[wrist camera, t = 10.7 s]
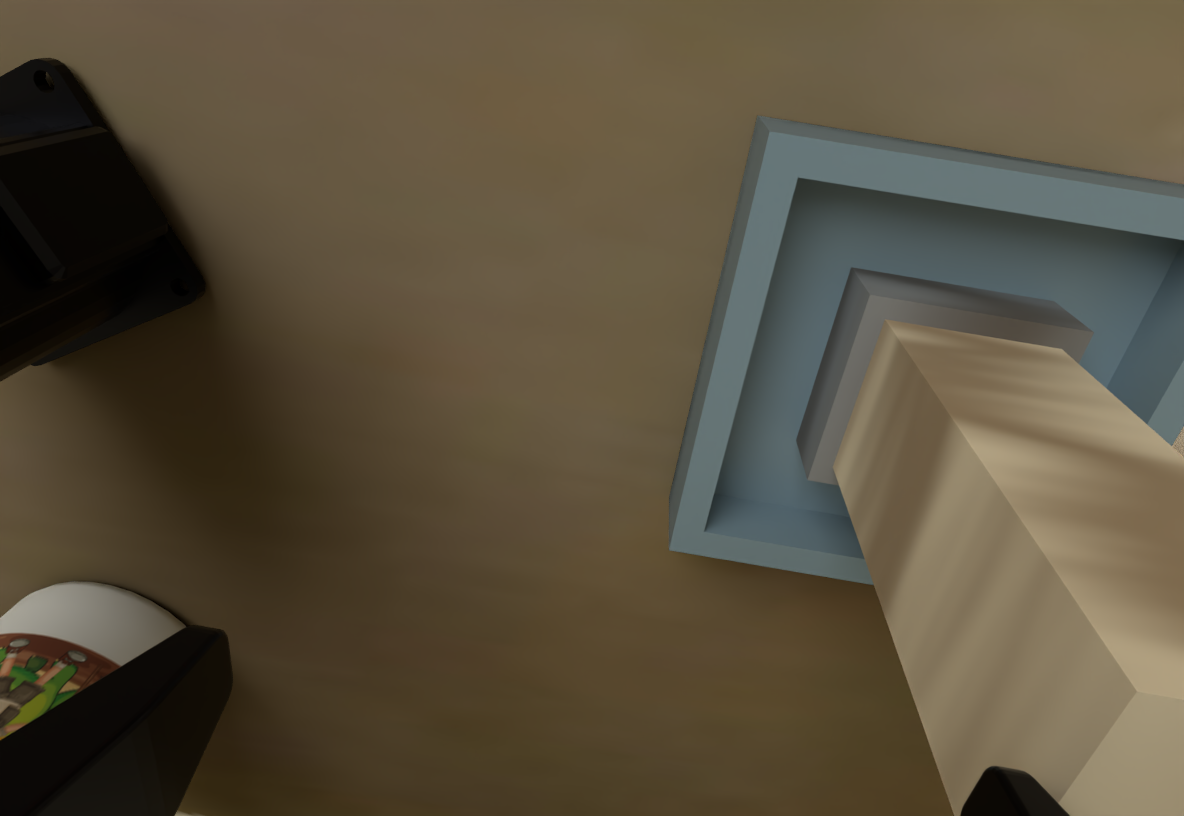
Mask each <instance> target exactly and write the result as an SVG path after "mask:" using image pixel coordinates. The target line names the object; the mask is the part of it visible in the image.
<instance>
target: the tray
mask: <svg viewBox="0 0 1184 816" xmlns="http://www.w3.org/2000/svg"><path fill="white" fill-rule="evenodd" d="M851 267H853V268H859V269H865V270H871V271H877V272H883V273H889V274H895V275H901V276H907V277H913V278H919V279H925V280H931V281H937V282H943V283H949V284H955V285H961V286H967V287H973V288H978V289H984V290H990V291H996V292H1002V293H1008V294H1014V295H1020V296H1026V297H1032V298H1038V299H1044V300H1050V301H1055V302H1056V303H1057V304H1058V305H1060V306H1061V307H1062V308H1064V309H1065V310H1066V311H1067V312H1069V313H1070V314H1071V315H1072V316H1074V317H1075V318H1076V319H1078V320H1079V321H1080V322H1081V323H1083V324H1084V325H1085V326H1087V327H1088V328H1089V329H1090V330H1092V331H1093V332H1094V334H1093V336H1092V338H1091V340H1090V342H1089V344H1088V346H1087V348H1086V350H1085V352H1084V354H1083V356H1082V358H1081V360H1080V362H1079V365H1080V366H1082V367H1083V368H1084V369H1085V370H1086V371H1087V372H1088V373H1089V374H1091V375H1092V376H1093V377H1094V378H1095V379H1096V380H1097V381H1098V382H1100V383H1101V384H1102V385H1103V386H1104V387H1105V388H1106V389H1107V390H1109V391H1110V392H1111V393H1112V394H1113V395H1114V396H1115V397H1117V398H1118V399H1119V400H1120V401H1121V402H1122V403H1123V404H1124V405H1126V406H1127V407H1128V408H1129V409H1130V410H1131V411H1132V412H1133V413H1135V414H1136V415H1137V416H1138V417H1139V418H1140V419H1141V420H1143V421H1144V422H1145V423H1146V424H1147V425H1148V426H1149V427H1150V428H1152V429H1153V430H1154V431H1155V432H1156V433H1157V434H1158V435H1159V436H1161V437H1162V438H1163V439H1164V440H1165V441H1166V442H1167V443H1169V444H1170V445H1171V446H1172V445H1173V443H1174V441H1175V440H1176V438H1177V436H1178V435H1179V433H1180V431H1181V430H1182V428H1183V426H1184V185H1183V184H1177V183H1171V182H1164V181H1158V180H1152V179H1146V178H1140V177H1134V176H1127V175H1121V174H1115V173H1109V172H1103V171H1097V170H1090V169H1084V168H1078V167H1072V166H1066V165H1060V164H1053V163H1047V162H1041V161H1035V160H1029V159H1023V158H1016V157H1010V156H1004V155H998V154H992V153H986V152H979V151H973V150H967V149H961V148H955V147H949V146H942V145H936V144H930V143H924V142H918V141H912V140H905V139H899V138H893V137H887V136H881V135H875V134H868V133H862V132H856V131H850V130H844V129H838V128H831V127H825V126H819V125H813V124H807V123H800V122H794V121H788V120H782V119H776V118H770V117H763V116H757V120H756V124H755V128H754V133H753V137H752V141H751V146H750V150H749V154H748V159H747V163H746V167H745V172H744V176H743V180H742V185H741V189H740V193H739V198H738V202H737V206H736V211H735V215H734V219H733V224H732V228H731V232H730V237H729V241H728V245H727V250H726V254H725V258H724V263H723V267H722V271H721V276H720V280H719V284H718V289H717V293H716V297H715V302H714V306H713V310H712V315H711V319H710V323H709V327H708V332H707V336H706V340H705V345H704V349H703V353H702V358H701V362H700V366H699V371H698V375H697V379H696V384H695V388H694V392H693V397H692V401H691V405H690V410H689V414H688V418H687V423H686V427H685V431H684V436H683V440H682V444H681V449H680V453H679V457H678V462H677V466H676V470H675V475H674V479H673V483H672V488H671V492H670V496H669V550H671V551H677V552H683V553H689V554H695V555H700V556H706V557H712V558H718V559H724V560H730V561H736V562H741V563H747V564H753V565H759V566H765V567H771V568H777V569H782V570H788V571H794V572H800V573H806V574H812V575H818V576H823V577H829V578H835V579H841V580H847V581H853V582H859V583H864V584H870V585H874V584H873V581H872V578H871V575H870V572H869V570H868V567H867V564H866V561H865V558H864V555H863V552H862V550H861V547H860V544H859V541H858V538H857V535H856V532H855V529H854V527H853V524H852V521H851V518H850V515H849V512H848V509H847V507H846V504H845V501H844V498H843V495H842V492H841V489H840V486H839V485H833V484H827V483H821V482H815V481H810V480H807V477H806V473H805V470H804V466H803V463H802V459H801V456H800V452H799V449H798V445H797V442H796V439H797V435H798V432H799V429H800V426H801V423H802V420H803V417H804V413H805V410H806V407H807V404H808V401H809V398H810V395H811V392H812V388H813V385H814V382H815V379H816V376H817V373H818V370H819V366H820V363H821V360H822V357H823V354H824V351H825V348H826V345H827V341H828V338H829V335H830V332H831V329H832V326H833V323H834V319H835V316H836V313H837V310H838V307H839V304H840V301H841V298H842V294H843V291H844V288H845V285H846V282H847V279H848V276H849V272H850V269H851Z"/></svg>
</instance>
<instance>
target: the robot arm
mask: <svg viewBox="0 0 1184 816" xmlns="http://www.w3.org/2000/svg"><path fill="white" fill-rule="evenodd" d="M46 72H47V73H48V74H49V75H50V76H51V77H52V79H53V81H54V90H53V89H52V88H51V87H50V86H49V85H48V83H47V81H46V79H45V78H46ZM179 278H180V279H182V280H184V281H185V282H186V283H187V285H188V288H189V291H187V290H185V289H183V288H182V287H181V286H180V283H179ZM204 292H205V281H204V279H203V277H202V275H201V274H200V272H199V270H198V269H197V267H196V266H195V264H194V263H193V261H192V260H191V258H190V256H189V255H188V253H187V252H186V250H185V249H184V247H183V246H182V244H181V242H180V241H179V239H178V238H177V236H176V235H175V233H174V231H173V230H172V228H171V227H170V225H169V224H168V221H167V219H166V217H165V216H164V214H163V213H162V211H161V209H160V208H159V206H158V205H157V203H156V202H155V200H154V199H153V197H152V195H151V194H150V192H149V191H148V189H147V188H146V186H145V185H144V183H143V181H142V180H141V178H140V177H139V175H138V174H137V172H136V171H135V169H134V167H133V166H132V164H131V163H130V161H129V160H128V158H127V156H126V155H125V153H124V152H123V150H122V149H121V147H120V146H119V144H118V142H117V141H116V139H115V138H114V136H113V135H112V134H111V133H110V132H109V130H108V129H107V127H106V126H105V124H104V122H103V121H102V119H101V118H100V116H99V115H98V113H97V112H96V110H95V108H94V107H93V105H92V104H91V102H90V101H89V99H88V98H87V96H86V94H85V93H84V91H83V90H82V88H81V87H80V85H79V84H78V82H77V80H76V79H75V77H74V76H73V74H72V73H71V71H70V70H69V69H68V68H67V67H66V65H65V64H63V63H61V62H60V61H58V60H56V59H52V58H41V59H34V60H30V61H28V62H26V63H24V64H23V65H21V66H19V67H17V68H15V69H14V70H12V71H10V72H8V73H6V74H4V75H3V76H1V77H0V381H2V380H4V379H6V378H7V377H9V376H11V375H13V374H14V373H16V372H18V371H20V370H22V369H23V368H25V367H27V366H29V365H33V366H38V365H42V364H45V363H47V362H49V361H52V360H54V359H57V358H59V357H62V356H64V355H67V354H69V353H71V352H74V351H76V350H79V349H81V348H84V347H86V346H88V345H91V344H93V343H96V342H98V341H101V340H103V339H106V338H108V337H110V336H113V335H115V334H118V333H120V332H123V331H125V330H127V329H130V328H132V327H135V326H137V325H140V324H142V323H144V322H147V321H149V320H152V319H154V318H157V317H159V316H162V315H164V314H166V313H169V312H171V311H174V310H176V309H179V308H181V307H183V306H186V305H188V304H191V303H192V302H194V301H195V300H197V299H199V298H200V297H201V296H203V294H204ZM232 683H233V674H232V666H231V658H230V650H229V641H228V637H227V635H226V633H225V632H224V631H223V630H220V629H215V628H210V627H204V626H198V625H191V626H188V627H185V628H183V629H181V630H180V631H178V632H176V633H175V634H173V635H171V636H170V637H168V638H166V639H165V640H163V641H162V642H160V643H158V644H157V645H155V646H153V647H152V648H150V649H148V650H147V651H145V652H144V653H142V654H140V655H139V656H137V657H135V658H134V659H132V660H130V661H129V662H127V663H126V664H124V665H122V666H121V667H119V668H117V669H116V670H114V671H113V672H111V673H109V674H108V675H106V676H104V677H103V678H101V679H99V680H98V681H96V682H95V683H93V684H91V685H90V686H88V687H86V688H85V689H83V690H81V691H80V692H78V693H77V694H75V695H73V696H72V697H70V698H68V699H67V700H65V701H63V702H62V703H60V704H59V705H57V706H55V707H54V708H52V709H50V710H49V711H47V712H45V713H44V714H42V715H41V716H39V717H37V718H36V719H34V720H32V721H31V722H29V723H28V724H26V725H24V726H23V727H21V728H19V729H18V730H16V731H14V732H13V733H11V734H10V735H8V736H6V737H5V738H3V739H1V740H0V816H175V814H176V812H177V810H178V808H179V806H180V803H181V801H182V799H183V797H184V795H185V793H186V790H187V788H188V786H189V784H190V782H191V779H192V777H193V775H194V773H195V771H196V769H197V766H198V764H199V762H200V760H201V758H202V755H203V753H204V751H205V749H206V747H207V744H208V742H209V740H210V738H211V736H212V734H213V731H214V729H215V727H216V725H217V723H218V720H219V718H220V716H221V714H222V712H223V710H224V707H225V705H226V703H227V701H228V698H229V696H230V693H231V689H232ZM960 816H1070V815H1069V814H1068V813H1067V812H1066V811H1065V810H1064V809H1063V808H1062V807H1061V805H1060V804H1059V803H1058V802H1057V801H1056V800H1055V799H1054V798H1053V797H1052V796H1051V795H1050V794H1049V793H1048V792H1047V791H1046V790H1045V789H1044V788H1043V787H1042V786H1041V784H1040V783H1039V782H1038V781H1037V780H1036V779H1035V778H1034V777H1032V776H1031V775H1030V774H1028V773H1027V772H1025V771H1022V770H1018V769H1012V768H1006V767H1001V766H990V767H988V768H987V769H985V771H984V772H983V774H982V775H981V777H980V779H979V780H978V782H977V783H976V785H975V787H974V788H973V790H972V792H971V793H970V795H969V797H968V798H967V800H966V802H965V803H964V805H963V807H962V811H961V815H960Z"/></svg>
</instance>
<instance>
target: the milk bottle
mask: <svg viewBox="0 0 1184 816" xmlns="http://www.w3.org/2000/svg"><path fill="white" fill-rule="evenodd" d="M185 627H186V626H185V625H184V624H183V623H182V622H180V621H179V620H178V619H177V618H176V617H174V616H173V615H172V614H171V613H170V612H168V611H167V610H165V609H163V608H162V607H160V606H159V605H157V604H155V603H154V602H152V601H151V600H149V599H146V598H144V597H142V596H140V595H138V594H136V593H133V592H131V591H128V590H125V589H121V588H118V587H115V586H112V585H107V584H101V583H96V582H77V581H72V582H67V583H60V584H55V585H52V586H49V587H47V588H44V589H41V590H38V591H35V592H33V593H31V594H29V595H28V596H26V597H25V598H23V599H22V600H21V601H20V602H18V603H17V604H16V605H15V606H14V607H13V608H11V609H10V610H9V611H8V612H7V613H6V614H4V615H3V616H2V617H1V618H0V740H1V739H3V738H5V737H6V736H8V735H10V734H11V733H13V732H14V731H16V730H18V729H19V728H21V727H23V726H24V725H26V724H28V723H29V722H31V721H32V720H34V719H36V718H37V717H39V716H41V715H42V714H44V713H45V712H47V711H49V710H50V709H52V708H54V707H55V706H57V705H59V704H60V703H62V702H63V701H65V700H67V699H68V698H70V697H72V696H73V695H75V694H77V693H78V692H80V691H81V690H83V689H85V688H86V687H88V686H90V685H91V684H93V683H95V682H96V681H98V680H99V679H101V678H103V677H104V676H106V675H108V674H109V673H111V672H113V671H114V670H116V669H117V668H119V667H121V666H122V665H124V664H126V663H127V662H129V661H130V660H132V659H134V658H135V657H137V656H139V655H140V654H142V653H144V652H145V651H147V650H148V649H150V648H152V647H153V646H155V645H157V644H158V643H160V642H162V641H163V640H165V639H166V638H168V637H170V636H171V635H173V634H175V633H176V632H178V631H180V630H181V629H183V628H185Z"/></svg>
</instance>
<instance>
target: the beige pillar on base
mask: <svg viewBox="0 0 1184 816" xmlns="http://www.w3.org/2000/svg"><path fill="white" fill-rule="evenodd" d="M1093 334H1094V332H1093V331H1092V330H1090V329H1089V328H1088V327H1087V326H1085V325H1084V324H1083V323H1081V322H1080V321H1079V320H1078V319H1076V318H1075V317H1074V316H1072V315H1071V314H1070V313H1069V312H1067V311H1066V310H1065V309H1064V308H1062V307H1061V306H1060V305H1058V304H1057V303H1056V302H1055V301H1050V300H1044V299H1038V298H1032V297H1026V296H1020V295H1014V294H1008V293H1002V292H996V291H990V290H984V289H978V288H973V287H967V286H961V285H955V284H949V283H943V282H937V281H931V280H925V279H919V278H913V277H907V276H901V275H895V274H889V273H883V272H877V271H871V270H865V269H859V268H853V267H851V269H850V272H849V276H848V279H847V282H846V285H845V288H844V291H843V294H842V298H841V301H840V304H839V307H838V310H837V313H836V316H835V319H834V323H833V326H832V329H831V332H830V335H829V338H828V341H827V345H826V348H825V351H824V354H823V357H822V360H821V363H820V366H819V370H818V373H817V376H816V379H815V382H814V385H813V388H812V392H811V395H810V398H809V401H808V404H807V407H806V410H805V413H804V417H803V420H802V423H801V426H800V429H799V432H798V435H797V439H796V442H797V445H798V449H799V452H800V456H801V459H802V463H803V466H804V470H805V473H806V477H807V480H810V481H815V482H821V483H827V484H833V485H839V486H840V489H841V492H842V495H843V498H844V501H845V504H846V507H847V509H848V512H849V515H850V518H851V521H852V524H853V527H854V529H855V532H856V535H857V538H858V541H859V544H860V547H861V550H862V552H863V555H864V558H865V561H866V564H867V567H868V570H869V572H870V575H871V578H872V581H873V584H874V587H875V590H876V593H877V595H878V598H879V601H880V604H881V607H882V610H883V613H884V616H885V618H886V621H887V624H888V627H889V630H890V633H891V636H892V638H893V641H894V644H895V647H896V650H897V653H898V656H899V659H900V661H901V664H902V667H903V670H904V673H905V676H906V679H907V682H908V684H909V687H910V690H911V693H912V696H913V699H914V702H915V704H916V707H917V710H918V713H919V716H920V719H921V722H922V725H923V727H924V730H925V733H926V736H927V739H928V742H929V745H930V747H931V750H932V753H933V756H934V759H935V762H936V765H937V768H938V770H939V773H940V776H941V779H942V782H943V785H944V788H945V791H946V793H947V796H948V799H949V802H950V805H951V808H952V811H953V813H954V816H960V815H961V811H962V807H963V805H964V803H965V802H966V800H967V798H968V797H969V795H970V793H971V792H972V790H973V788H974V787H975V785H976V783H977V782H978V780H979V779H980V777H981V775H982V774H983V772H984V771H985V769H987V768H988V767H990V766H1001V767H1006V768H1012V769H1018V770H1022V771H1025V772H1027V773H1028V774H1030V775H1031V776H1032V777H1034V778H1035V779H1036V780H1037V781H1038V782H1039V783H1040V784H1041V786H1042V787H1043V788H1044V789H1045V790H1046V791H1047V792H1048V793H1049V794H1050V795H1051V796H1052V797H1053V798H1054V799H1055V800H1056V801H1057V802H1058V803H1059V804H1060V805H1061V807H1062V808H1063V809H1064V810H1065V811H1066V812H1067V813H1068V814H1069V815H1070V816H1184V457H1183V456H1182V455H1181V454H1180V453H1179V452H1178V451H1176V450H1175V449H1174V448H1173V447H1172V446H1171V445H1170V444H1169V443H1167V442H1166V441H1165V440H1164V439H1163V438H1162V437H1161V436H1159V435H1158V434H1157V433H1156V432H1155V431H1154V430H1153V429H1152V428H1150V427H1149V426H1148V425H1147V424H1146V423H1145V422H1144V421H1143V420H1141V419H1140V418H1139V417H1138V416H1137V415H1136V414H1135V413H1133V412H1132V411H1131V410H1130V409H1129V408H1128V407H1127V406H1126V405H1124V404H1123V403H1122V402H1121V401H1120V400H1119V399H1118V398H1117V397H1115V396H1114V395H1113V394H1112V393H1111V392H1110V391H1109V390H1107V389H1106V388H1105V387H1104V386H1103V385H1102V384H1101V383H1100V382H1098V381H1097V380H1096V379H1095V378H1094V377H1093V376H1092V375H1091V374H1089V373H1088V372H1087V371H1086V370H1085V369H1084V368H1083V367H1082V366H1080V365H1079V362H1080V360H1081V358H1082V356H1083V354H1084V352H1085V350H1086V348H1087V346H1088V344H1089V342H1090V340H1091V338H1092V336H1093Z"/></svg>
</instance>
